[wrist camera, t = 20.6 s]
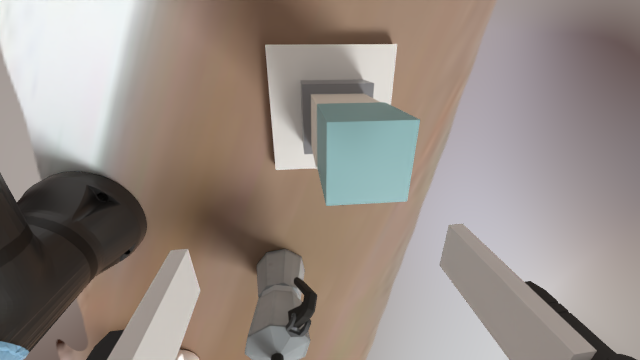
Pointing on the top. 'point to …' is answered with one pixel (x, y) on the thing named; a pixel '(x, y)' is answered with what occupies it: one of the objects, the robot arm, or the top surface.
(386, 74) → the tower base
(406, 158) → the teal block
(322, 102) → the cream block
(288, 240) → the top surface
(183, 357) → the mug
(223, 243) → the top surface
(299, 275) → the coffee maker
